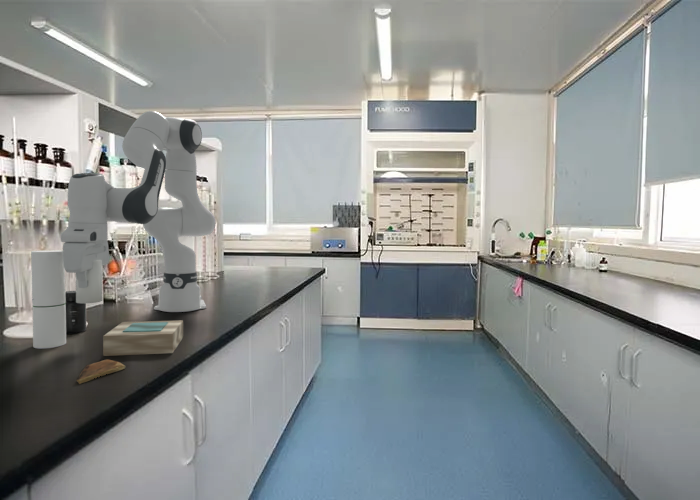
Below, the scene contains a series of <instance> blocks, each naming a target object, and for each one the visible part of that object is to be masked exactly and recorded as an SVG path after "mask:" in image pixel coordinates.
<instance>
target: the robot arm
mask: <svg viewBox="0 0 700 500" xmlns="http://www.w3.org/2000/svg"><path fill="white" fill-rule="evenodd" d="M202 134H203V133H202V129H201V127H200V125H199V124H198V122H197V121H195V120H194V119H188V118H180V117H169V116H167V117H165V116H164V115H163V114H161V113H159V112H158V111H153V110H148V111H145V112H143V113H142V114H141V115H139V116H138V117H137V118H136V119H135V121H134V122H133V123H132V125H131V126H130V127H129V129H128V131H127V132H126V134H125V135H124V138H123V140H122V145H121V147H122V150H123V153H124V155H125V157H126V159H128V160H129V161H130V162H131V163H133V165H135V166H137V167H138V168H140V169H141V168H142V169H144V171H143V174H142V177H141V182H140V183H139V184H138V185H137V186H135V187H127V188H126V187H114V186H113V185H111V184H109V183H108V182H107V181H106V179H105V175H104V174H102V173H99V172H98V173H97V172H79V173H74V174H73V175H71V176H70V179H69V181H68V185H67V186H68V187H67V207H68V211H69V217H68V220H67V222H68V223H67V224H68V225H67V227H66V229H65V230H63V231H62V232H61V233H60V242H62V243H63V244H62V251H63V263H64V268H65V273H68V274H69V273H72V274H74V273H75V278H76V277H77V280H78V286H79V288H86V287H88V280H87V277H86V275H87V270H90V269H92V268H93V261H97V260H102V267H103V266H106V265H108V264H109V262H110V252H109V251H110V250H109V249H110V248H109V242H108V238H109V236H108V222H115V223H118V222H119V223H132V224H139V225H142V226H143V229H144V230H145V232H146V233H147V234H149V235H150V236H151V237H153V238H154V239H155V240H156V241H157V242H158V244H159V245H160V247H161V249H162V253H163V259H164V272H163V276H162V278H163V284H162V285H160V286H159V289H158V290H159V291H158V304H157V305H154V307H153V310H155V311H162V312H167V313H182V312H183V313H185V312H192V311H197V310H202V309H203V310H204V309H207V305H206V303H205V300H204V299H203V296H202V295H201V287H200V285H198V282H197V281H198V272H197V271H196V270H197V268H196V265H197V262H196V261H197V260H196V259H197V255H196V252H195V251H194V250H193V248H191V247H189V246H187V245H185V244H183V243H181V242H180V240H179V238H180V237H203V236H208V235H211V234H212V233H213V232H214V230H215V228H216V222H217V221H216V218H215V216H214V214H213V213H212V212H211V210H209V209H208V208H207V207H206V206H205V205H204V204H203V203H202V201H201V199H200V196H199V193H198V185H197V159H196V151H197V150H198V148H199V147H200V145H201V143H202V139H203V135H202ZM164 150H165V151H166V153H164ZM163 181H164V189H165V192H166V193H167V194H168V195H169V196H170V197H172V198H174V199H177V200H178V201H179V202H181V204H182V207H170V206H161V207H159V198H160V193H161V188H162V185H163ZM96 255H97V256H96Z"/></svg>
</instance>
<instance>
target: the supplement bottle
mask: <svg viewBox="0 0 700 500" xmlns="http://www.w3.org/2000/svg"><path fill="white" fill-rule="evenodd" d="M65 298H66V335H74V334H80V333H83V332H85V331H86V330H87V303H76V290H67V291H66V290H65Z"/></svg>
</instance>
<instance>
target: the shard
mask: <svg viewBox="0 0 700 500" xmlns="http://www.w3.org/2000/svg"><path fill="white" fill-rule="evenodd" d="M125 369H126V365H125V364H123V363H121V362H120V361H117V360H111V359H109V358H108V359H107V358H106V359H104V360H101V361H97V362H93V363H90V364H86V365H85V367H84V368H83V370H82V371H81V373H80V374H79V377H78V378H77V379H76V382H78V383H77V384H78V385H81V384H83V383H87V382H89V381H92V380H95V379H98V378H101V377H103V376H106V374H107V375H109V374H112V373H116V372H119V371H123V370H125ZM100 376H101V377H100ZM97 377H98V378H97ZM94 378H95V379H94Z"/></svg>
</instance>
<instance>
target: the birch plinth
mask: <svg viewBox="0 0 700 500" xmlns="http://www.w3.org/2000/svg"><path fill="white" fill-rule="evenodd" d="M183 338H184V320H183V319H182V320H152V321H151V320H149V321H148V320H147V321H142V320H141V321H122V322H121V323H119V324H118V325H117V326H115V327H113V328H112V329H110V331H108V332H107V333H105V334H104V335H103V336H102V340H103V341H102V344H103V347H102V349H103V351H102V352H103V357H109V356H111V357H112V356H131V355H133V356H135V355H154V354H155V355H159V354H161V355H162V354H174V352H175V350H176V349H177V348H178V346H179V344H180V343H181V341H182V340H183Z"/></svg>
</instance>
